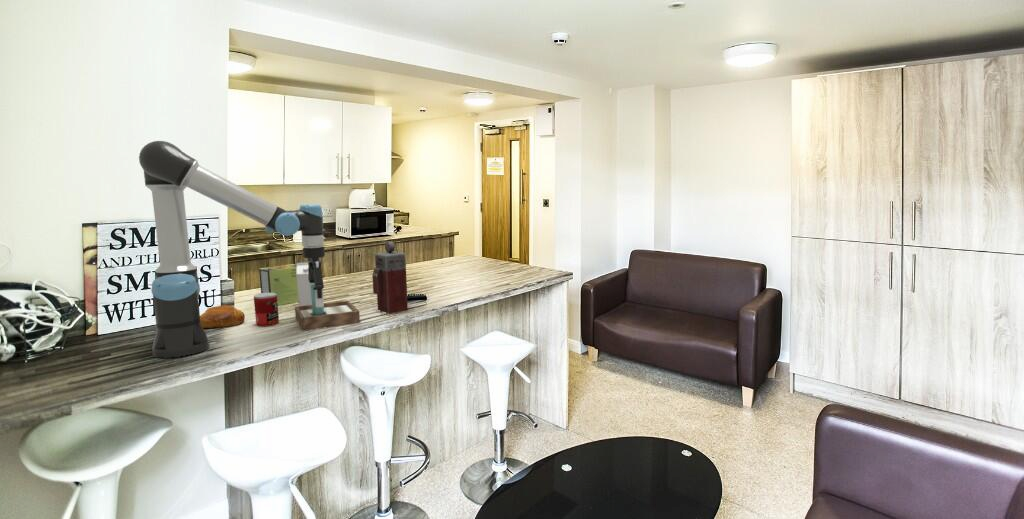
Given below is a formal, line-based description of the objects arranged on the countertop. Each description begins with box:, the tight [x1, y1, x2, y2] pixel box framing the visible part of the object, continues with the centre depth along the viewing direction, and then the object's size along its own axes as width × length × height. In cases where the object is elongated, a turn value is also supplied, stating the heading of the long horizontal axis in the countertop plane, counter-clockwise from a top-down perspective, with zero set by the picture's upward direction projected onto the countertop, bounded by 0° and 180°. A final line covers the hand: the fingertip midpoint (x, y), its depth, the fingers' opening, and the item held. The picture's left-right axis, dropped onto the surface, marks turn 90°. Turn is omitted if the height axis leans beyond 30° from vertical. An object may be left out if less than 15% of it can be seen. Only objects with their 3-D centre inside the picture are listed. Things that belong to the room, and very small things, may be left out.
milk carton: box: [296, 261, 312, 306], centre depth 219 cm, size 7×7×19 cm
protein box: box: [258, 263, 299, 306], centre depth 230 cm, size 10×15×16 cm
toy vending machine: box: [372, 241, 409, 314], centre depth 211 cm, size 9×11×28 cm
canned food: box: [253, 292, 280, 327], centre depth 195 cm, size 8×8×11 cm
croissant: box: [200, 304, 246, 329], centre depth 196 cm, size 14×16×8 cm
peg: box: [311, 284, 324, 316], centre depth 197 cm, size 4×4×14 cm
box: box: [294, 300, 361, 331], centre depth 199 cm, size 20×20×4 cm
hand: (317, 303), depth 197 cm, fingers open, 13 cm apart
